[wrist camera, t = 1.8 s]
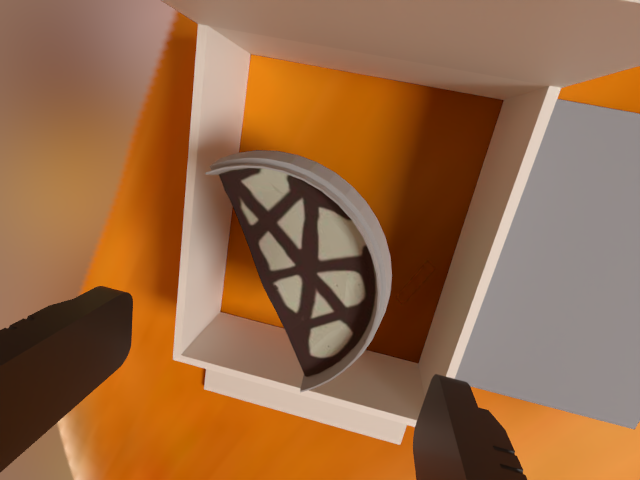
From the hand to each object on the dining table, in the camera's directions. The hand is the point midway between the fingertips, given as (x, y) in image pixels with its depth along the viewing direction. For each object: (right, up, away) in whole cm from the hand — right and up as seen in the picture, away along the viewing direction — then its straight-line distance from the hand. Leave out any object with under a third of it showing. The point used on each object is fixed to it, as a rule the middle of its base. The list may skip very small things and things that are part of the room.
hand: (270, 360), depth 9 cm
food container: (+3, +4, +16) cm, 17 cm away
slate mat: (+19, +1, +14) cm, 24 cm away
